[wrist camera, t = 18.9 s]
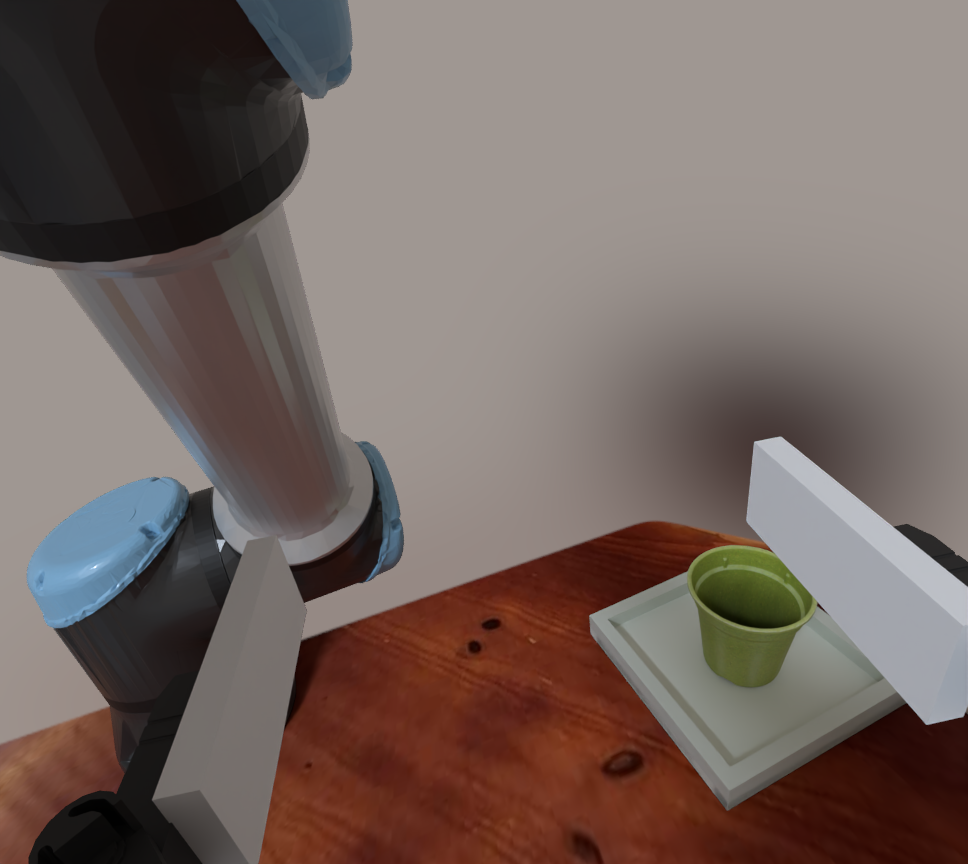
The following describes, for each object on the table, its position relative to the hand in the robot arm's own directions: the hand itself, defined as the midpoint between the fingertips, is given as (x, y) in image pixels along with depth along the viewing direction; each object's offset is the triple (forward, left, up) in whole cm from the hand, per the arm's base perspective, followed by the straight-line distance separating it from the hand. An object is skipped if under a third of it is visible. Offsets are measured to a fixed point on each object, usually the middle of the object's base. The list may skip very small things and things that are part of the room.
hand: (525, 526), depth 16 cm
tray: (-14, +23, -35) cm, 44 cm away
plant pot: (-13, +24, -34) cm, 44 cm away
